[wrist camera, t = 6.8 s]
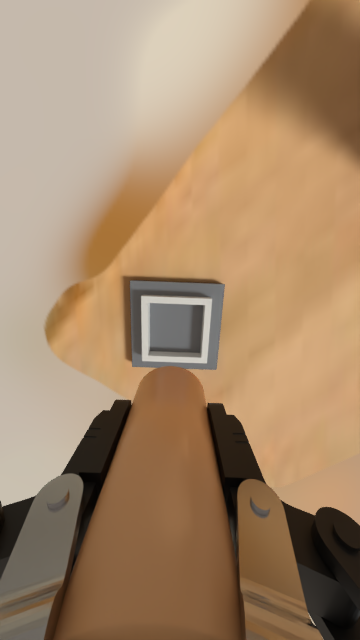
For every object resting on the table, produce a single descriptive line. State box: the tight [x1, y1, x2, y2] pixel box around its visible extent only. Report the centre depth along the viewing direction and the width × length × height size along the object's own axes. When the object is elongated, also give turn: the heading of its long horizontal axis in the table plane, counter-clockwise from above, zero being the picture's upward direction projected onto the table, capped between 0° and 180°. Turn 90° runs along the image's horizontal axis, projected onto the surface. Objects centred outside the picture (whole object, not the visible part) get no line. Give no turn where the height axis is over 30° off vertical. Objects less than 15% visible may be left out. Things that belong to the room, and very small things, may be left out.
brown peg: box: [53, 366, 241, 640], centre depth 7 cm, size 4×4×8 cm
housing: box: [130, 280, 225, 370], centre depth 25 cm, size 12×12×3 cm
